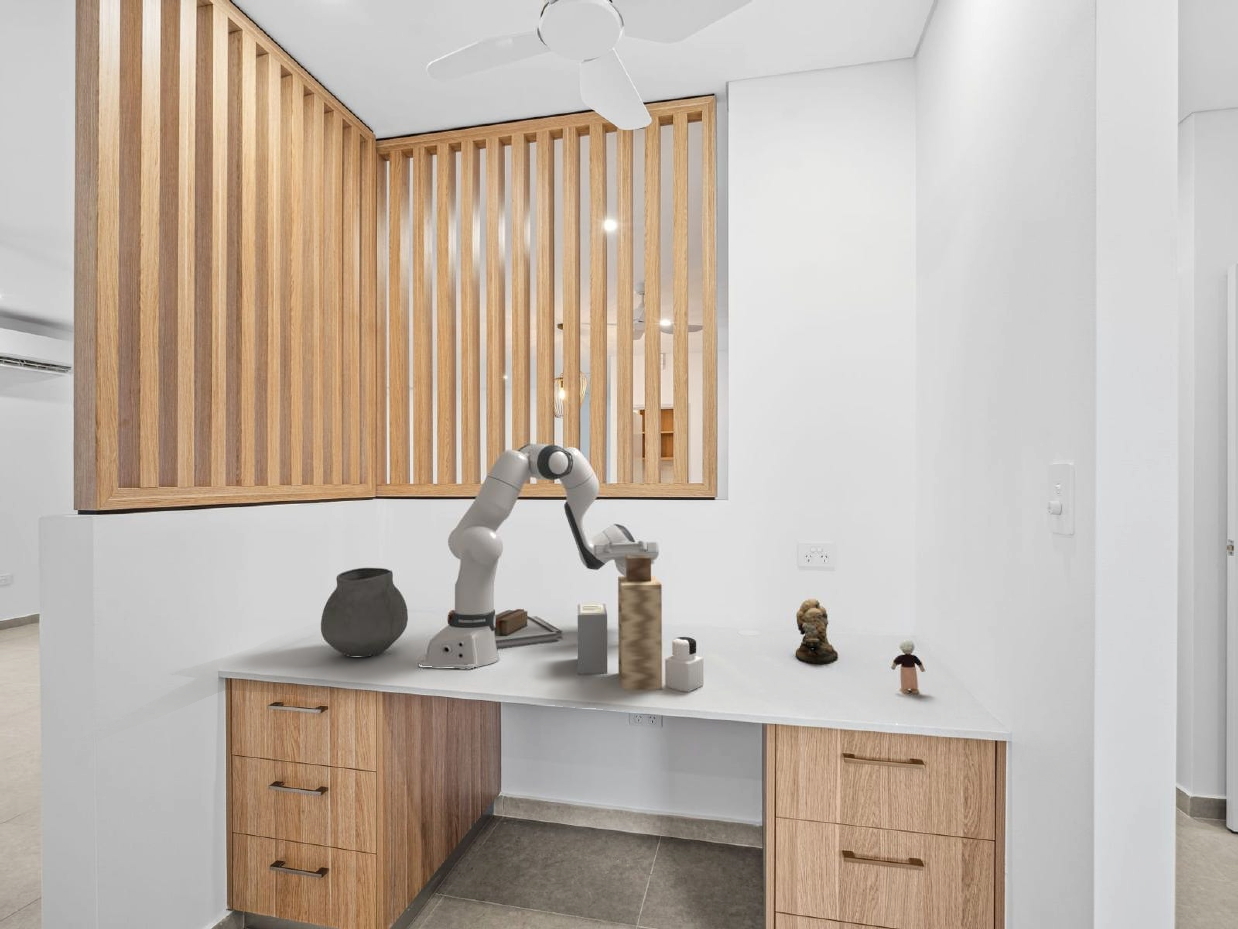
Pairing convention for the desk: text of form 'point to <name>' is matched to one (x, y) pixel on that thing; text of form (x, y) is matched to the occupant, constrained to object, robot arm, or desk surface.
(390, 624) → the ceramic pot
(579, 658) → the plinth
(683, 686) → the medicine bottle
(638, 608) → the tall wooden pillar
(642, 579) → the brown wooden bar
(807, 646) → the brown lumpy piece
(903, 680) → the grandmother figurine
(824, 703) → the desk surface
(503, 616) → the grey tray
